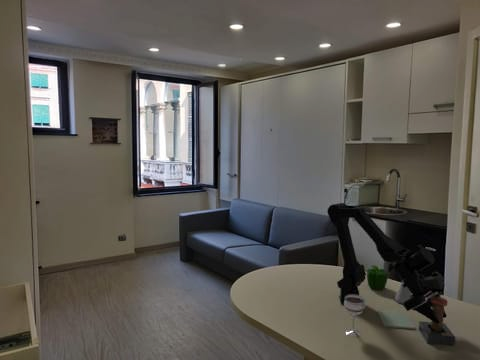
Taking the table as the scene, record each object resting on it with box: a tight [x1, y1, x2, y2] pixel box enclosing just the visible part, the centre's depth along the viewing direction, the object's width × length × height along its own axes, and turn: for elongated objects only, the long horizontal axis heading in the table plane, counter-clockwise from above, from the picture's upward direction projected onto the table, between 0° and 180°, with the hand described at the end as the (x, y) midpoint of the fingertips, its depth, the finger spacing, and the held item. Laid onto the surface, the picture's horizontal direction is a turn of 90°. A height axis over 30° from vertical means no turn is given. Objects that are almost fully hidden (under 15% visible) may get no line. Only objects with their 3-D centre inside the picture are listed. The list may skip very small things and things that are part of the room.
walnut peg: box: [430, 296, 448, 333], centre depth 117 cm, size 5×5×13 cm
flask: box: [394, 280, 412, 305], centre depth 142 cm, size 7×7×10 cm
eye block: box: [418, 320, 456, 346], centre depth 117 cm, size 8×8×3 cm
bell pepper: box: [366, 264, 389, 291], centre depth 154 cm, size 8×8×10 cm
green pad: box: [377, 310, 416, 330], centre depth 128 cm, size 10×10×1 cm
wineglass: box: [343, 294, 366, 338], centre depth 119 cm, size 7×7×12 cm
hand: (441, 320), depth 116 cm, fingers open, 5 cm apart
